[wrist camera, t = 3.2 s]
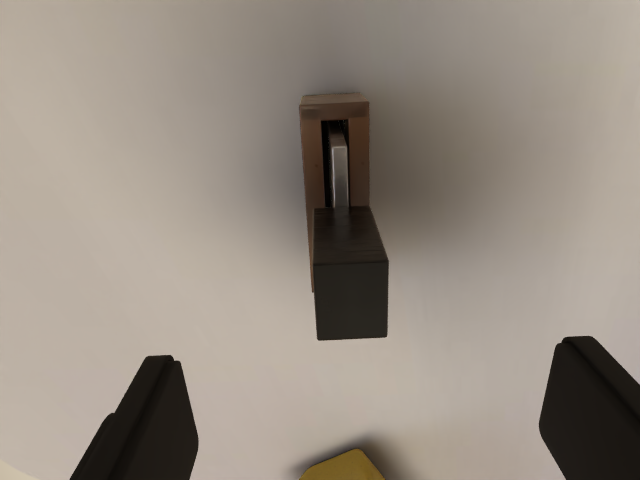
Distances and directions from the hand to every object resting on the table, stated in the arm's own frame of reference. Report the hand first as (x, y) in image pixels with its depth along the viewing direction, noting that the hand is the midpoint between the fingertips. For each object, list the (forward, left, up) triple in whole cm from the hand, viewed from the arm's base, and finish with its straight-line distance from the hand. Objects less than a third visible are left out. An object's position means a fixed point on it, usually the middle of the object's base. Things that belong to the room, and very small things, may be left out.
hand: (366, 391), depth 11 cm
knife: (0, 0, -17) cm, 17 cm away
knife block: (0, 0, -17) cm, 17 cm away
